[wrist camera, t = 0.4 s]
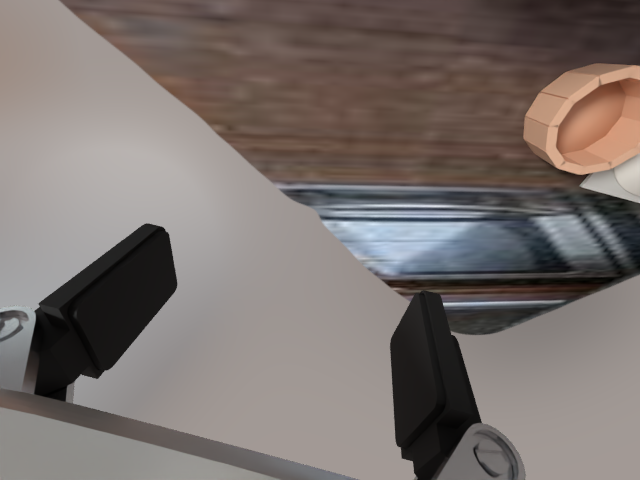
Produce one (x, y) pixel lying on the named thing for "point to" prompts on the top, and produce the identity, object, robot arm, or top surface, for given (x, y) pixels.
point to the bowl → (587, 118)
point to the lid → (629, 175)
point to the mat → (607, 185)
